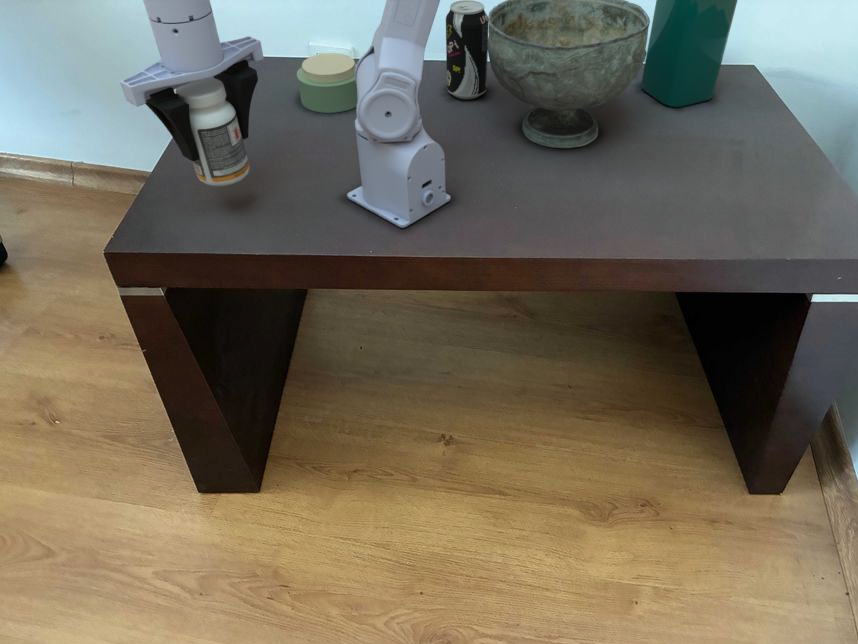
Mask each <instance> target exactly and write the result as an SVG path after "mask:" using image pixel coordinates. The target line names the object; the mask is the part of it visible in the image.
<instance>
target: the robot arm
mask: <svg viewBox="0 0 858 644" xmlns="http://www.w3.org/2000/svg"><path fill="white" fill-rule="evenodd" d="M142 1H143V4H144V8H145V11H146V14H147V17H148V20H149V23H150V27H151V30H152V34H153V37H154V40H155V43H156V47H157V50H158V53H159V57H160V59H159V60H158V61H155V62H154V63H152V64H151V65H149V66H147V67H145V68H144V69H142V70H140V71H139V72H137V73H135V74H133V75H131V76H128V77H127V78H124V79H121V80H119V84H120V87H121V89H122V92H123V95H124V98H125V100H126V101H127V102H128V103H130V104H131V105H133V106H135V107H140V106H143V105H145V106H147V108H148V109H150V111H151V112H152V113H153V114H154V115H155V116H156V117H157V118H158V119H159V121H160V122H161V124H163V126H164V127H165V128H166V130H167V131H168V133H169V134H170V136H171V137H172V138H173V140H174V143H176V145H177V147H178V148H179V151H180V153H181V155H182V156H183V157H184V158H186V159H188V160H189V161H191V162H192V161H196V160H199V155H198V150H197V147H196V143H195V140H194V137H193V134H192V129H191V124H190V115H189V104H188V103H186V102H184V101H182V100H180V99H179V95H178V94H176V91H175V90H176V89H177V88H179V87H182V86H185V85H188V84H190V83H193V82H196V81H198V80H202V79H206V78H215V79H218V80H220V81H221V82H222V83H223V85H224V88H225V91H226V99H225V100H226V101H228V102H229V103H230V104H231V105H232V106H233V107H234V109H235V112H236V115H237V119H238V123H239V127H240V131H241V135H242V138H243V141H244V140H246V139H248V138H249V129H250V128H249V127H250V111H251V104H252V99H253V95H254V92H255V89H256V86H257V83H258V81H259V75H258V71H257V69H255V68H253V67H251V66H250V65H249V62H255V63H258V62H261V61H263V60H265V58H264V52H263V47H262V42H261V40H259V39H257V38H255V37H253V36H250V35H247V36H244V37H240V38H237V39H232V40H228V41H221V40H220V36H219V33H218V28H217V25H216V24H217V23H216V21H215V16H214V13H213V8H212V3H211V0H142ZM440 3H441V0H386V1H385V4H384V9H383V13H382V15H381V20H380V22H379V24H378V26H377V28H376V30H375V31H374V34H373V37H372V40H371V44H370V46H369V48H368V49H367V51H366V52H365V53H364V54H362V56H361V57H360V58H359V60H357V63H356V64H357V66H356V69H355V82H356V85H357V100H358V102H357V107H355V108H356V109H355V112H356V113H355V114H356V118H355V120H354V129H355V139H356V146H357V147H356V148H357V155H358V163H359V172H360V181H361V185H360V186H359V187H357V188H355V189H352V190H351V191H349V192H347V194H346V197H347V199H348V200H350V201H351V202H354V203H356V204H357V205H359V206H361V207H363V208H365V209H366V210H368V211H370V212H372V213H374V214H376V215H377V216H379V217H380V218H383V219H384V220H386V221H388V222H390V223H392V224H394V225H395V226H397V227H399V228H400V229H401V228H402V229H405V228H407V227H408V226H410V225H411V224H414V223H415V222H417V221H418V220H420V219H423V218H424V217H425V216H426V215H428V214H431V212H434V211H435V210H437V209H439V208H440V207H441V206H444V205H445V204H446V203H448V202H450V201H451V197H452V196H451V195H450V194H448V193H447V192H446V156H445V152H444V149H443V148H442V146H441V144H439V143H438V142H436V141H435V140H434V139H432V138H431V137H430V136H429V134H428V133H427V132H426V129H425V128H424V126H423V119H422V115H421V114H420V105H419V99H418V98H419V97H418V94H419V90H420V86H421V82H422V80H423V79H422V77H423V70H424V60H425V52H426V47H427V43H428V40H429V38H430V34H431V31H432V27H433V25H434V21H435V18H436V16H437V12H438V8H439V5H440Z"/></svg>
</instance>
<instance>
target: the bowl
mask: <svg viewBox="0 0 858 644" xmlns="http://www.w3.org/2000/svg"><path fill="white" fill-rule="evenodd" d="M487 16H488V43H487V45H488V60H489V63H490V68H491V70H492V72H493V75H494V77H495V78H496V80H497V81H498V83H499V85H500V86H502V88H504V89H505V90H506V91H507V92H509V93H510V95H512V96H514V97H515V98H516V99H518V100H520V101H521V102H523V103H525V104H528V105H532V106H534V107H535V108H532V110H530V111H529V112H528V113H527V114H526V115H525V116H524V118H523V121H522V124H521V125H522V127H521V128H522V132H523V135H524V136H525V137H526V138H527V139H528V140H529V141H531V142H533V143H535V144H536V145H537V144H538V145H540V146H542V147H547V148H552V149H553V148H554V149H571V148H579V147H583V146H586V145H588V144H590V143H592V142H593V141H594V140H596V138H597V137H598V134H599V125H598V122H597V120H596V119H595V118H594V116H592V115H591V114H590V113H589V112H588V111H585V110H584V109H591V108H596V107H599V106H601V105H603V104H605V103H607V102H609V101H611V100H612V99H614V98H616V97H618V96H620V95H621V94H622V93H623V92H624V91H626V89H628V87H629V86H631V84H632V82H633V81H634V80H635V79H636V78H637V76H638V75H639V73H640V71H641V69H642V67H643V66H644V63H645V61H646V55H647V49H646V48H647V43H648V36H649V35H648V34H649V27H650V24H651V20H650V16H649V15H648V13H647V12H646V11H645V10H644V8H643V7H642V6H640V5H639V4H637V3H633V2H630V1H628V0H504V1H502V2H500V3H498V4H497V5H495V6H493V8H492V9H491V10H490V11H489V13H488V15H487Z"/></svg>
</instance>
